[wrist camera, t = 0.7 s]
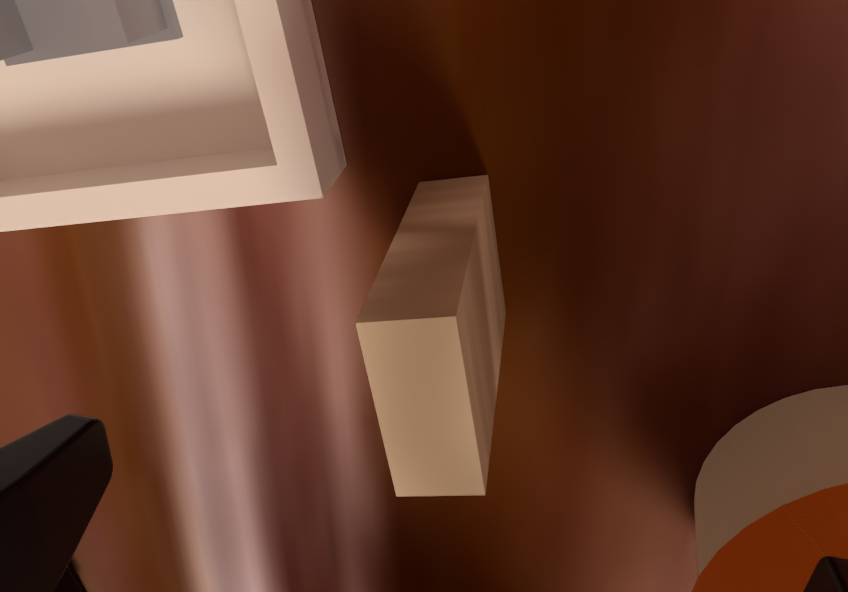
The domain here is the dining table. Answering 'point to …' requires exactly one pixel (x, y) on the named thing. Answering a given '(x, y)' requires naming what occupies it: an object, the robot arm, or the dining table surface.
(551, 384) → the dining table surface
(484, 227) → the tan cuboid brick
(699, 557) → the reusable coffee cup
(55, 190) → the dish
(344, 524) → the dining table surface
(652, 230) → the dining table surface
